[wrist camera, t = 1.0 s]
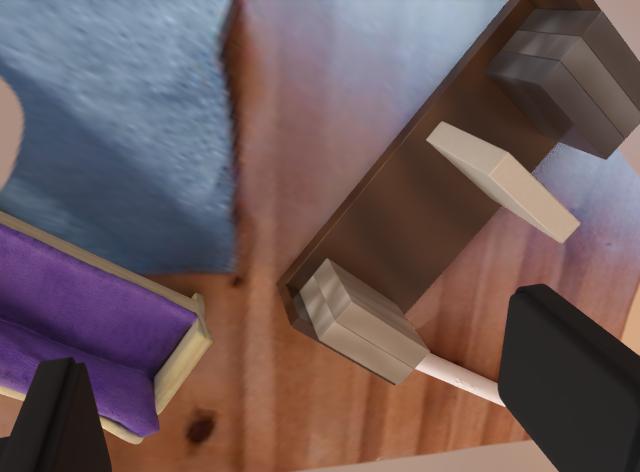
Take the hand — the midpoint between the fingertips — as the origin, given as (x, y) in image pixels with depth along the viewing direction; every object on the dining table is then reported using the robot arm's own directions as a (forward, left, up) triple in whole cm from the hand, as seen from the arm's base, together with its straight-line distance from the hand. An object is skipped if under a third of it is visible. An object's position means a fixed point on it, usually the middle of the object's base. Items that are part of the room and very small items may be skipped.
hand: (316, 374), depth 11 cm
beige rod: (+25, +29, -33) cm, 50 cm away
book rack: (+4, +20, -32) cm, 38 cm away
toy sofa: (+16, -10, -33) cm, 37 cm away
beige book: (+2, +21, -31) cm, 37 cm away
